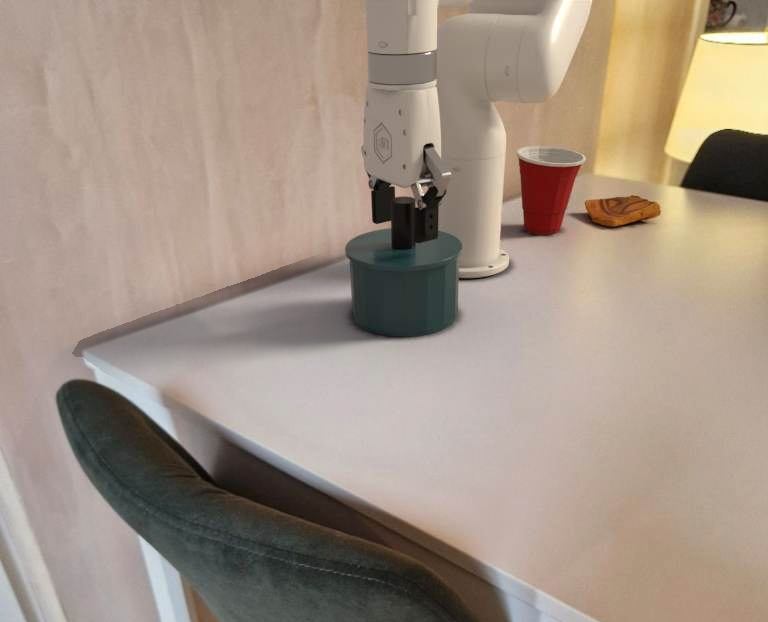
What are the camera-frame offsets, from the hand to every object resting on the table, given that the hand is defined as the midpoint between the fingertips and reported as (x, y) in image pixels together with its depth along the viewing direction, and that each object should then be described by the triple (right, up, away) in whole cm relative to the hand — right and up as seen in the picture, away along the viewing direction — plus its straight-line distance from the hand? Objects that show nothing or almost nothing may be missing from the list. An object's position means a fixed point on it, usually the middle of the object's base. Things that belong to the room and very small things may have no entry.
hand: (404, 230), depth 94 cm
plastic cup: (+24, +12, +33) cm, 42 cm away
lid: (0, -2, +1) cm, 2 cm away
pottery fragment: (+37, +15, +36) cm, 54 cm away
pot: (0, -9, +7) cm, 11 cm away
